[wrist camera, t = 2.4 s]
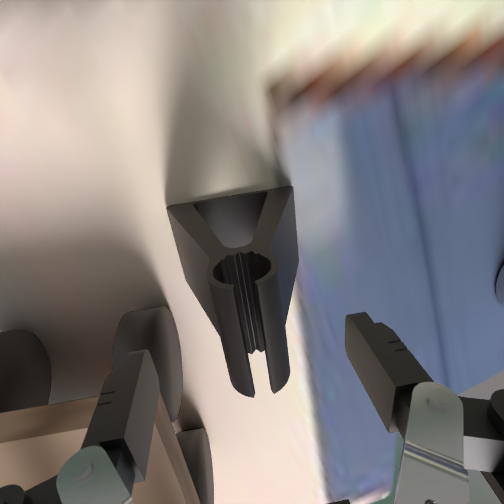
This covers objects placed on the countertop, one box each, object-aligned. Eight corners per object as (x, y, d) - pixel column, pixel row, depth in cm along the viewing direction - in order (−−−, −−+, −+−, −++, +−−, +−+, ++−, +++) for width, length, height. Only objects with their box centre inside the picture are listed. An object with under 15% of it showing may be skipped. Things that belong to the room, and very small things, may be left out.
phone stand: (185, 277, 25) (164, 414, 14) (166, 205, 22) (123, 306, 11) (297, 258, 25) (360, 378, 14) (292, 185, 22) (364, 265, 12)
